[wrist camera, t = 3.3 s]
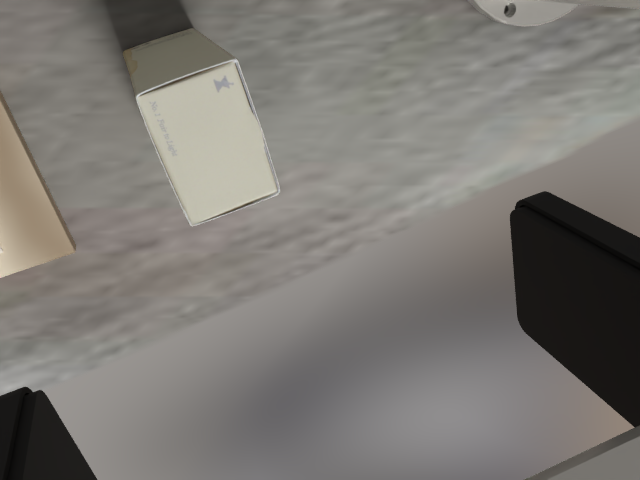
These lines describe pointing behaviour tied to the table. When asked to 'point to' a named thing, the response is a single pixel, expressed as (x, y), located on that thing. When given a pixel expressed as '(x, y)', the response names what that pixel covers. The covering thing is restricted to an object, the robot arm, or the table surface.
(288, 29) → the table surface
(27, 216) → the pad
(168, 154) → the skincare box
